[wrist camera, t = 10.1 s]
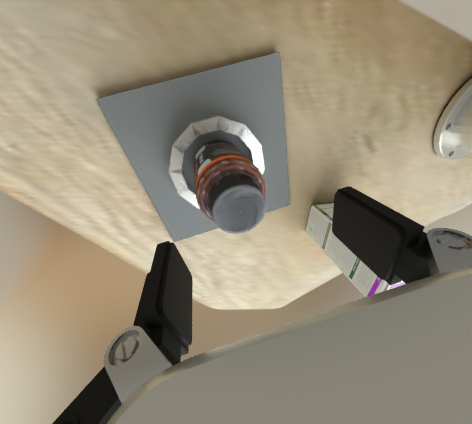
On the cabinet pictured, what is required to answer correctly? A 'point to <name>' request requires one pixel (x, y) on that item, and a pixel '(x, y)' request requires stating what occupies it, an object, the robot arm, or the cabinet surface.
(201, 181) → the supplement bottle
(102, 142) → the cabinet surface
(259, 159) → the ring collar
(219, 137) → the rubber mat
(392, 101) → the cabinet surface
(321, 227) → the syrup box
